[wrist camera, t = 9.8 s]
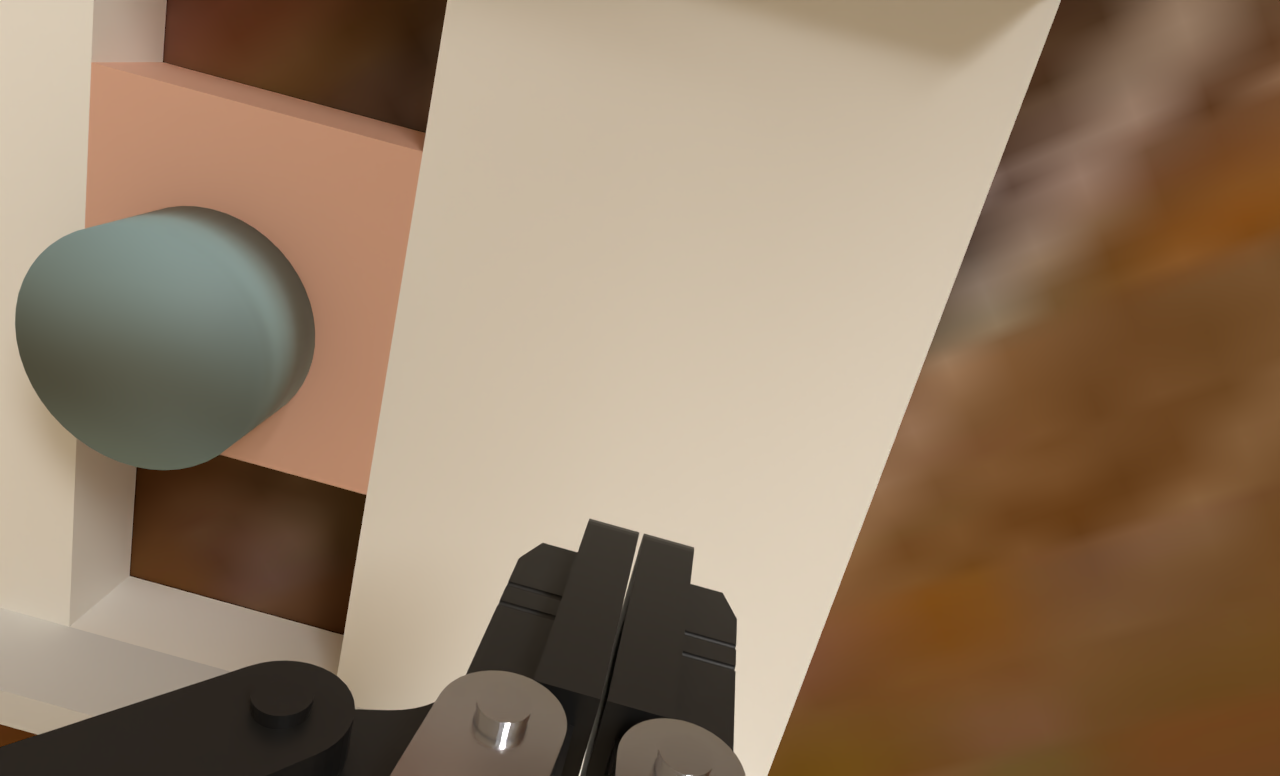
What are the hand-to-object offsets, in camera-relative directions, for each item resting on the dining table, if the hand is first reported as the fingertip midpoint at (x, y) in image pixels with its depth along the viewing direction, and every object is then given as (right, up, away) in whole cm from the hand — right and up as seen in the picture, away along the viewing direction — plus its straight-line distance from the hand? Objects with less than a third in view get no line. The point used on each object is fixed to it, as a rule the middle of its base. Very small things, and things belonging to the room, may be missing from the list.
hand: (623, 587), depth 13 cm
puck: (-9, +4, +8) cm, 13 cm away
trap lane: (-4, +4, +10) cm, 11 cm away
